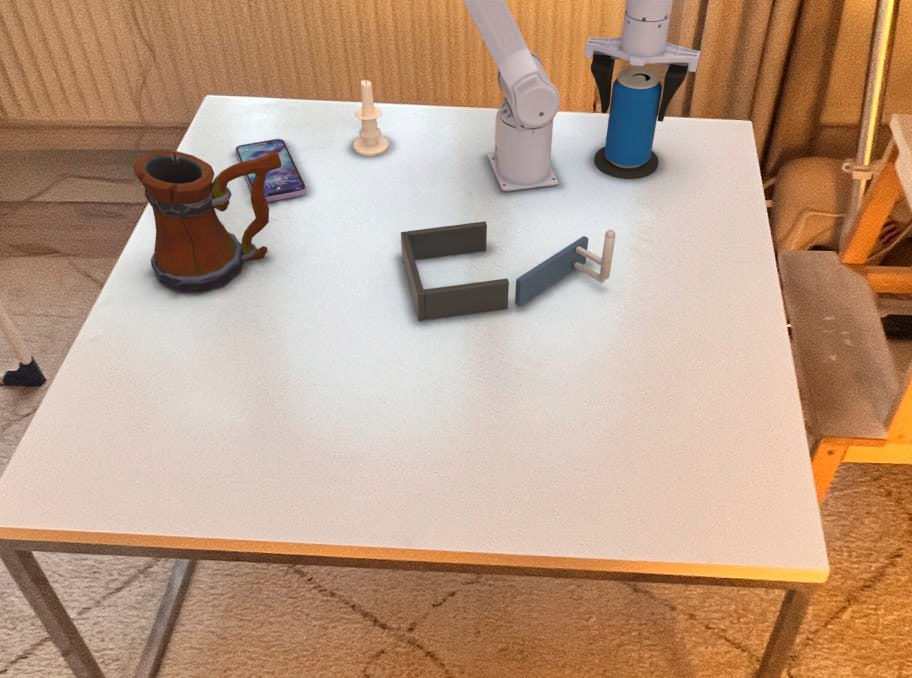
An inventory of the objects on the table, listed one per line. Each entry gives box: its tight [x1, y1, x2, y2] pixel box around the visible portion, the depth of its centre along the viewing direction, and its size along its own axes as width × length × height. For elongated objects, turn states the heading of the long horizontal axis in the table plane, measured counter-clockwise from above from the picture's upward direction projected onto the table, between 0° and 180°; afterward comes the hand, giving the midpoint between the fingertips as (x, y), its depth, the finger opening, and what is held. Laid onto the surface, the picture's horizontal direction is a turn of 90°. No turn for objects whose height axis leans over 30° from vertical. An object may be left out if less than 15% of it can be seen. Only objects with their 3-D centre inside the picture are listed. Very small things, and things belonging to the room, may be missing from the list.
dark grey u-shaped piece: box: [400, 221, 510, 322], centre depth 113 cm, size 11×13×4 cm
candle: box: [352, 79, 390, 157], centre depth 132 cm, size 5×5×10 cm
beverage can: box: [604, 66, 663, 168], centre depth 127 cm, size 6×6×12 cm
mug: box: [132, 150, 281, 293], centre depth 112 cm, size 18×12×15 cm, turn 102°
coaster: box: [593, 146, 659, 180], centre depth 132 cm, size 9×9×1 cm
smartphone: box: [235, 138, 307, 203], centre depth 131 cm, size 7×1×15 cm
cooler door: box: [514, 229, 617, 307], centre depth 109 cm, size 6×12×8 cm, turn 133°
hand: (633, 113), depth 126 cm, fingers open, 7 cm apart
